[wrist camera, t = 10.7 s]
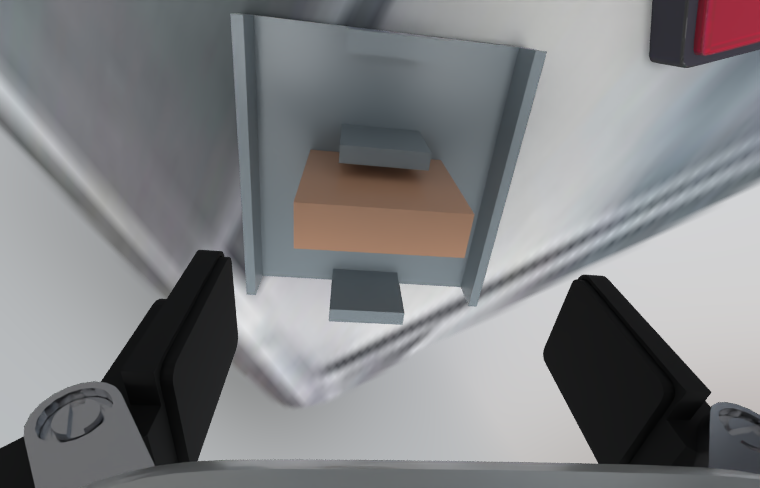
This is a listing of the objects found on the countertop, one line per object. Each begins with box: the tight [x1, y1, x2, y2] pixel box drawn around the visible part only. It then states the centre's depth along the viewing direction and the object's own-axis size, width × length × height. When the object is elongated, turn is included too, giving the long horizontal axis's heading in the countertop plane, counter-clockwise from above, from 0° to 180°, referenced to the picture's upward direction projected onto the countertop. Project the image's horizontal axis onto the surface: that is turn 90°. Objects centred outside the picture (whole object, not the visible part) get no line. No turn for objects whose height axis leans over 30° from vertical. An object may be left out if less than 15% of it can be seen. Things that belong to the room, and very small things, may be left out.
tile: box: [294, 150, 475, 258], centre depth 19 cm, size 2×7×7 cm, turn 84°
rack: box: [230, 13, 547, 325], centre depth 21 cm, size 14×14×5 cm
